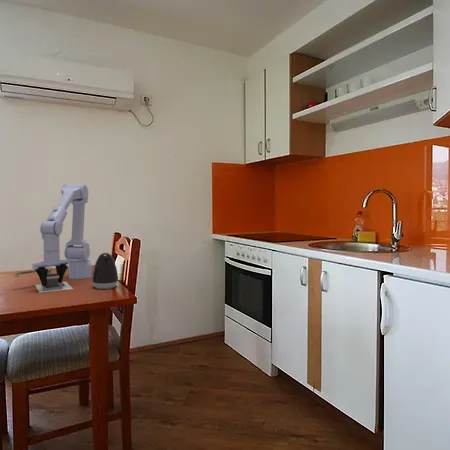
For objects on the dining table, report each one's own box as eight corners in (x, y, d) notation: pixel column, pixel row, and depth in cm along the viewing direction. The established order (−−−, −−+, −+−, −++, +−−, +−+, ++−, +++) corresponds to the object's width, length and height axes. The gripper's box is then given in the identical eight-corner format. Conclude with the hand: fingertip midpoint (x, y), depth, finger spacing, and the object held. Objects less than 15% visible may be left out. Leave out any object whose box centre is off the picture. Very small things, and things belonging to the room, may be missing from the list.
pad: (63, 283, 149) (63, 282, 149) (64, 285, 146) (64, 284, 146) (54, 284, 147) (54, 283, 147) (55, 286, 144) (55, 285, 144)
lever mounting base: (66, 283, 153) (66, 268, 153) (72, 291, 141) (72, 274, 141) (35, 287, 147) (35, 271, 146) (39, 295, 134) (39, 277, 134)
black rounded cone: (94, 293, 138) (93, 255, 137) (90, 287, 147) (90, 251, 147) (120, 290, 143) (120, 253, 142) (115, 285, 152) (115, 250, 151)
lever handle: (53, 272, 149) (53, 267, 149) (17, 277, 137) (17, 273, 137) (50, 271, 150) (49, 267, 150) (14, 276, 138) (14, 272, 138)
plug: (57, 286, 144) (57, 273, 144) (59, 289, 140) (59, 275, 140) (44, 288, 141) (44, 274, 141) (46, 290, 138) (46, 276, 137)
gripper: (62, 248, 148) (62, 279, 149) (27, 251, 136) (28, 286, 137) (72, 249, 144) (73, 282, 145) (37, 253, 132) (38, 288, 133)
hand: (52, 284), depth 141 cm, fingers closed on plug, 6 cm apart
